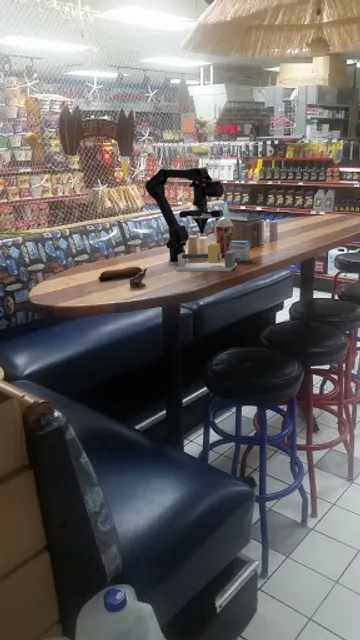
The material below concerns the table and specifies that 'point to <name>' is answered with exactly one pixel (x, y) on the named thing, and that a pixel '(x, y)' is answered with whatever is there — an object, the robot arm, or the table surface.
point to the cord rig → (226, 266)
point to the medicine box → (241, 250)
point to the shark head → (138, 279)
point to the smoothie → (224, 233)
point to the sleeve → (213, 253)
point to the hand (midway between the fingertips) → (202, 233)
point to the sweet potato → (119, 273)
